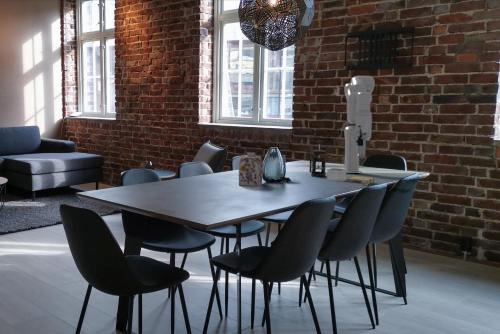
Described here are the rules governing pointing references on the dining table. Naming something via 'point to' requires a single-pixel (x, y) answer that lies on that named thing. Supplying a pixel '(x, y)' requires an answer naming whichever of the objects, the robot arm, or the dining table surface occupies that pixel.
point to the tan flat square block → (360, 180)
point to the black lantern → (313, 164)
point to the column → (362, 148)
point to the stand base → (336, 174)
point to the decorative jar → (250, 170)
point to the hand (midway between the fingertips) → (361, 145)
